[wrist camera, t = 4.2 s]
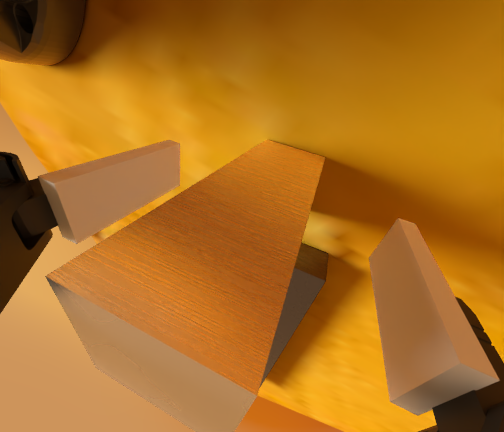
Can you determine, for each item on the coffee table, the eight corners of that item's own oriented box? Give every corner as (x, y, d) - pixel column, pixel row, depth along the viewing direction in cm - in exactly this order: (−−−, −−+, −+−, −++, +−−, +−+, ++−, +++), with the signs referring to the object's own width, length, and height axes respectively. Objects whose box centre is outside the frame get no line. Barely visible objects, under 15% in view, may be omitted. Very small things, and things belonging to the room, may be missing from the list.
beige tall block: (267, 139, 14) (45, 276, 4) (325, 157, 13) (257, 395, 3) (255, 191, 16) (96, 367, 6) (304, 209, 16) (222, 449, 5)
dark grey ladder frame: (216, 209, 19) (197, 227, 16) (328, 253, 17) (325, 281, 14) (200, 342, 33) (189, 362, 30) (260, 374, 31) (253, 398, 28)
